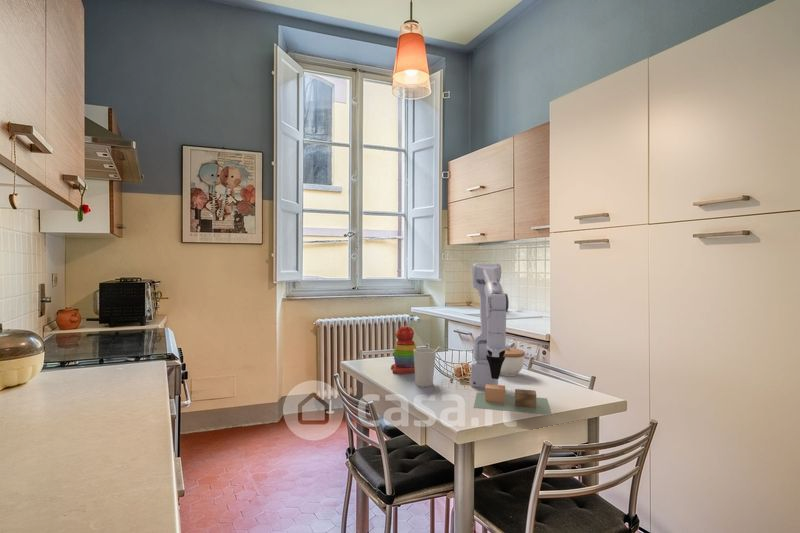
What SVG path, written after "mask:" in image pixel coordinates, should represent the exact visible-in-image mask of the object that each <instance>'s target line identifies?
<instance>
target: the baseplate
mask: <svg viewBox="0 0 800 533" xmlns="http://www.w3.org/2000/svg"><path fill="white" fill-rule="evenodd" d="M473 408H474V409H482V410H493V411H502V412H503V411H504V412H515V413H525V414H526V413H527V414H535V415H545V416H546V415H548V416H551V415H553V414H552V411H551V408H550V404H549V401H548V398H546V397H537V396H536V408H527V407H516V406H515V395H512V394H505V402H493V401H485V392H476V395H475V399H474V404H473Z"/></svg>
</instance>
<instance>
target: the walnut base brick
mask: <svg viewBox="0 0 800 533" xmlns="http://www.w3.org/2000/svg"><path fill="white" fill-rule="evenodd" d="M514 396H515V406H516V407H527V408H536V397H537V391H536V390H535V389H534V390H532V389H522V388H521V389H520V388H515V389H514Z"/></svg>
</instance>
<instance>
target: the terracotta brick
mask: <svg viewBox="0 0 800 533" xmlns="http://www.w3.org/2000/svg"><path fill="white" fill-rule="evenodd" d="M484 393H485V401H493V402H505V395H506V385H502V384H498V385H491V384H486V386H485V388H484Z"/></svg>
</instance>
